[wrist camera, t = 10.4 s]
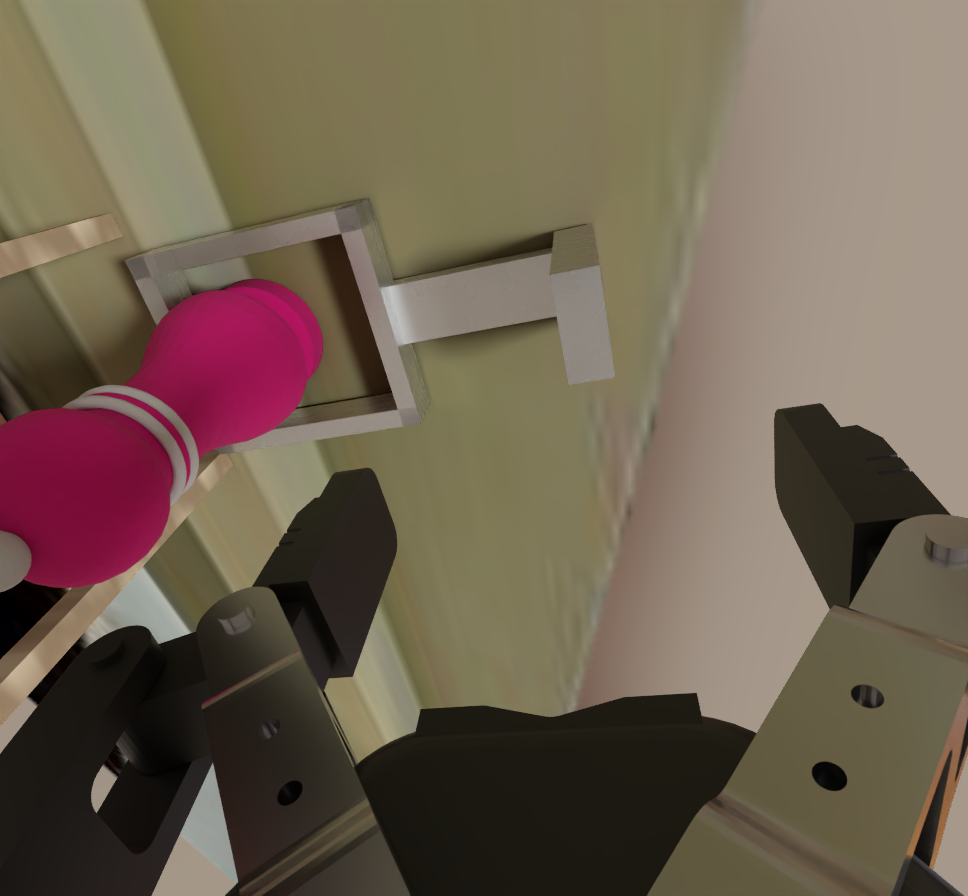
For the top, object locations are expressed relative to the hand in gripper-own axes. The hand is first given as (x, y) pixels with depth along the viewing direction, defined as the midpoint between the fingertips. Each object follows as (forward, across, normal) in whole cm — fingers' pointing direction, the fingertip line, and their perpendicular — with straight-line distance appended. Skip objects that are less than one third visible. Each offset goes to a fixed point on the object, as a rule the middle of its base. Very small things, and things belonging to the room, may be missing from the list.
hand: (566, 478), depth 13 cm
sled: (+20, +10, +1) cm, 22 cm away
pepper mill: (+21, +17, +1) cm, 27 cm away
